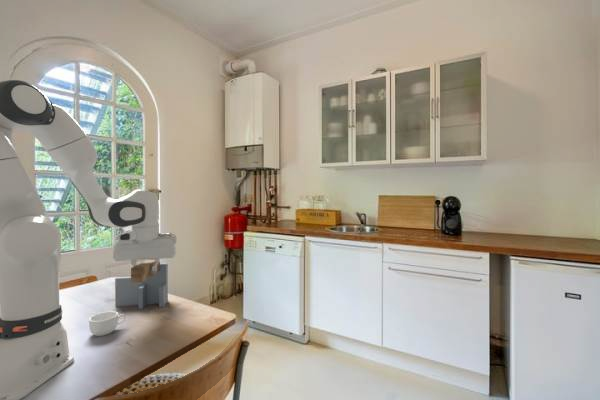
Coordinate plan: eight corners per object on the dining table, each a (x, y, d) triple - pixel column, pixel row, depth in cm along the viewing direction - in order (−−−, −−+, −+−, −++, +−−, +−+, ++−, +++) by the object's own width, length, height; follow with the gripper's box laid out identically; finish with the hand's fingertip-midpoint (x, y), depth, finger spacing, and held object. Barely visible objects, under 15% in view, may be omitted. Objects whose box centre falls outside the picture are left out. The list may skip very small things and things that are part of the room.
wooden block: (141, 282, 98) (141, 264, 98) (131, 282, 97) (130, 264, 97) (160, 270, 113) (160, 254, 113) (151, 270, 113) (151, 255, 113)
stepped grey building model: (163, 307, 111) (162, 261, 111) (110, 310, 108) (109, 263, 108) (168, 301, 118) (167, 257, 117) (118, 303, 114) (117, 259, 114)
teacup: (91, 341, 85) (91, 323, 85) (86, 332, 91) (86, 316, 91) (128, 330, 93) (128, 313, 92) (122, 322, 98) (122, 307, 98)
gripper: (177, 231, 110) (177, 267, 111) (117, 233, 104) (117, 271, 104) (175, 233, 104) (175, 271, 105) (111, 236, 98) (111, 275, 98)
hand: (145, 271), depth 104 cm, fingers closed on wooden block, 4 cm apart
